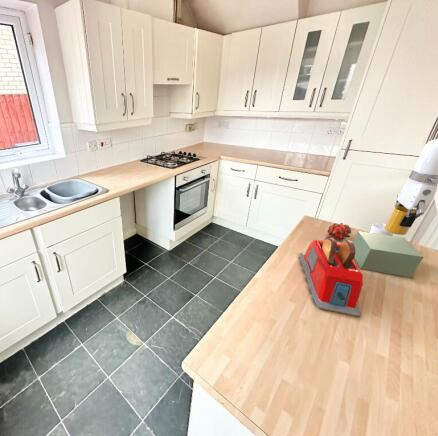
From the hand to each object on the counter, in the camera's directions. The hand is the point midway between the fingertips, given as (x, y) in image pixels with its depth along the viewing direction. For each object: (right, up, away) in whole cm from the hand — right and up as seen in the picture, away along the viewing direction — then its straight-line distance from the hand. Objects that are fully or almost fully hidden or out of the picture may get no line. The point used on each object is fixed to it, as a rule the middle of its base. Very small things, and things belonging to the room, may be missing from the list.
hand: (400, 221), depth 93 cm
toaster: (-29, -23, +1) cm, 37 cm away
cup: (0, -4, +2) cm, 4 cm away
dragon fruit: (-4, -9, +26) cm, 28 cm away
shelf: (+1, -18, +10) cm, 20 cm away
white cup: (+10, -12, +21) cm, 26 cm away
